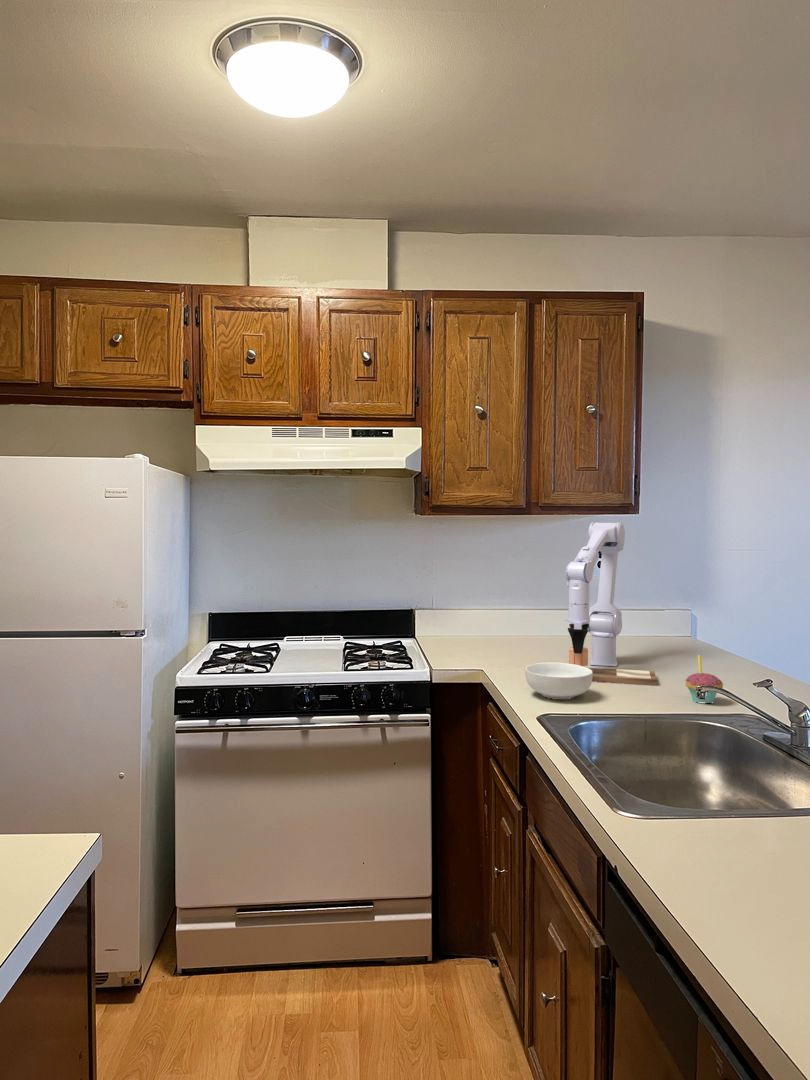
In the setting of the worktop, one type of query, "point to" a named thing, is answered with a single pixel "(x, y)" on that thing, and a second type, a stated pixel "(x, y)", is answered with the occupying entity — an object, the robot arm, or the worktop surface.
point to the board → (624, 676)
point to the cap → (578, 657)
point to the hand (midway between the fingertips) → (578, 650)
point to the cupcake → (703, 684)
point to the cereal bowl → (558, 679)
